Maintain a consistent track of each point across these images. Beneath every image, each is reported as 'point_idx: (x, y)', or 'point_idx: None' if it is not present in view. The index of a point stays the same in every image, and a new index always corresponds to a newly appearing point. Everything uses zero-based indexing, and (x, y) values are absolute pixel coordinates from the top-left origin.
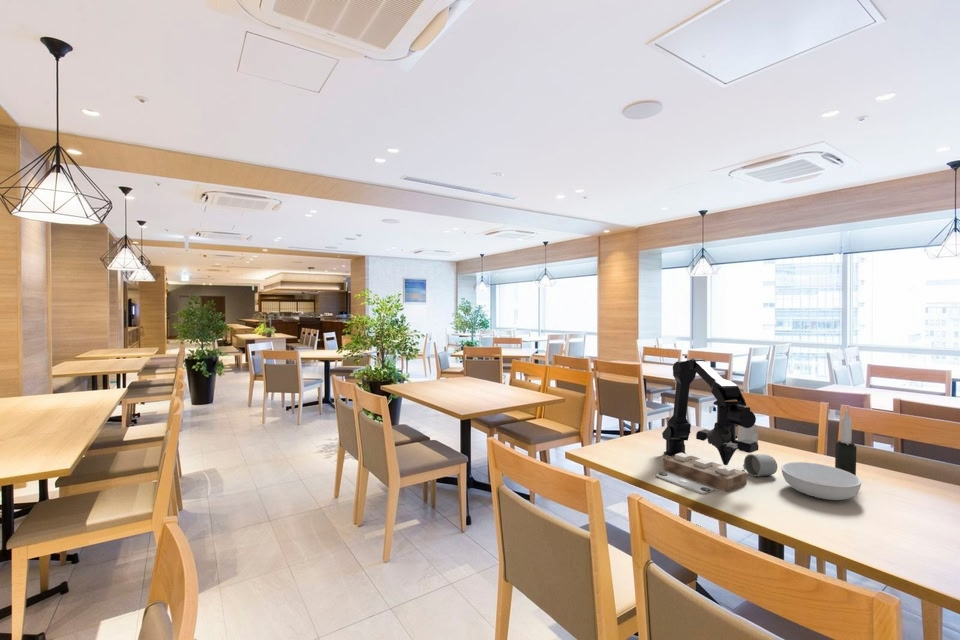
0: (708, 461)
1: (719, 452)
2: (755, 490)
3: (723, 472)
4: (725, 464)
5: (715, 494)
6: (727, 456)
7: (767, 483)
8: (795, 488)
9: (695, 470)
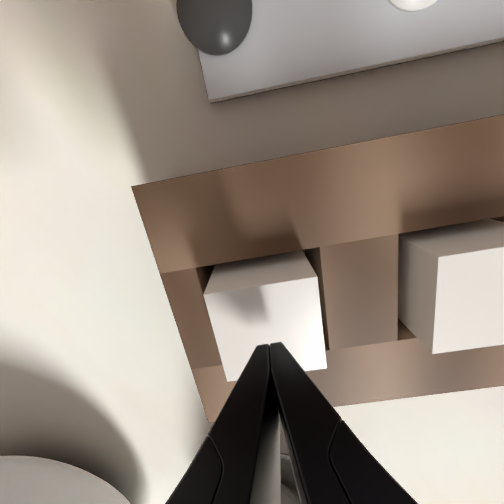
0: (456, 334)
1: (370, 467)
2: (140, 334)
3: (248, 274)
4: (259, 347)
5: (152, 50)
6: (207, 447)
7: (190, 438)
8: (35, 461)
9: (444, 126)
